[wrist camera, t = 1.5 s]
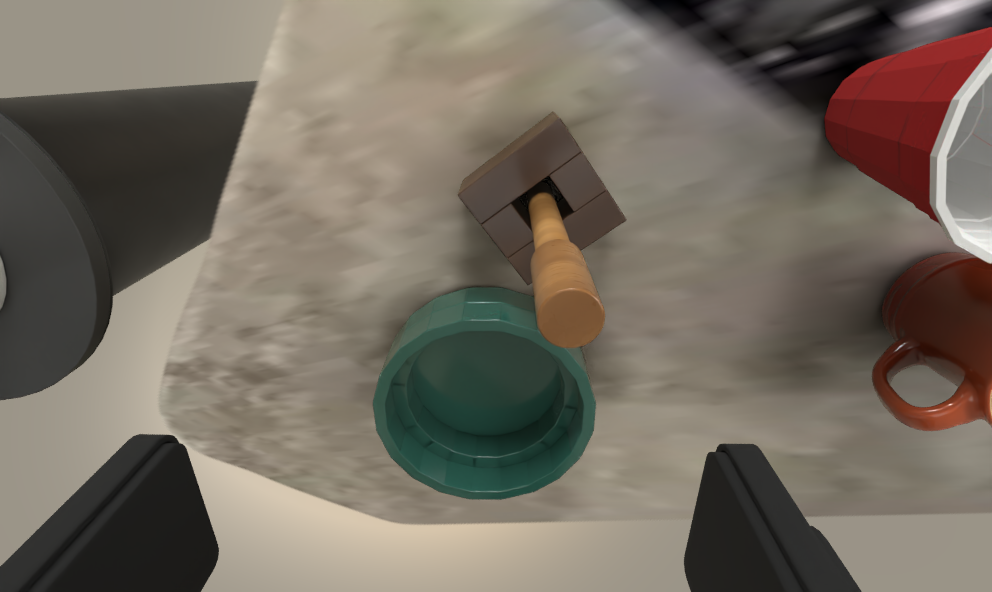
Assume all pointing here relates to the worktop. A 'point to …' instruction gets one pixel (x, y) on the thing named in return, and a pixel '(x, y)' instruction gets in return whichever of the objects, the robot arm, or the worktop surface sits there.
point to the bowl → (482, 397)
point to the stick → (560, 278)
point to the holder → (522, 168)
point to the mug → (940, 338)
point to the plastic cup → (926, 132)
